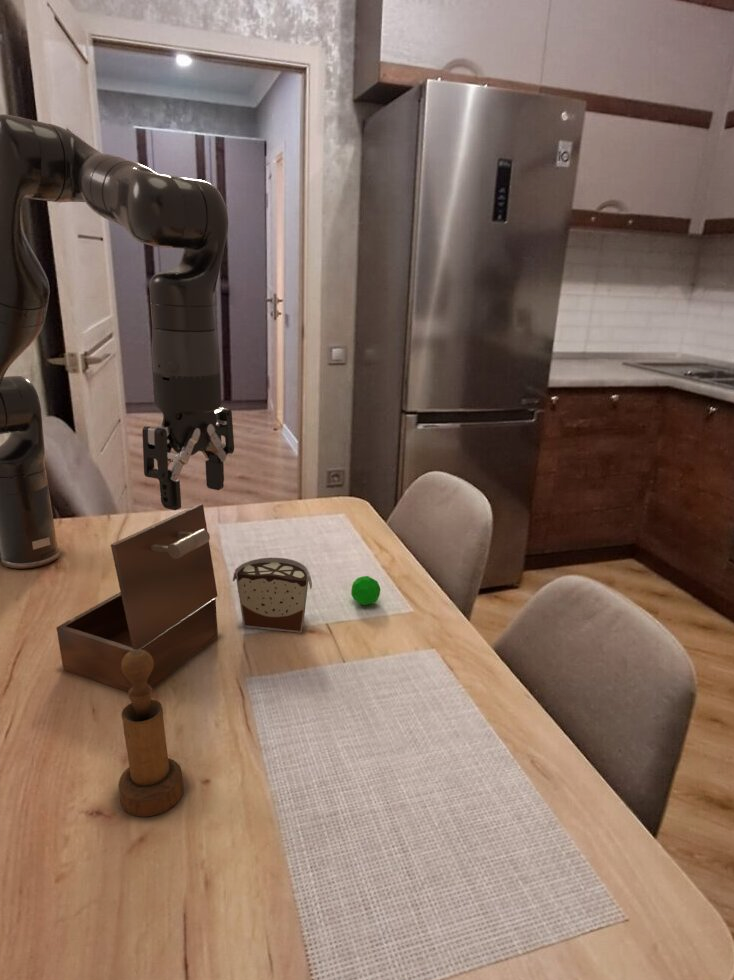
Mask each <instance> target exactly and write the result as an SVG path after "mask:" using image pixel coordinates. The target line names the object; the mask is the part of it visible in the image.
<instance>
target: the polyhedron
mask: <svg viewBox="0 0 734 980" xmlns="http://www.w3.org/2000/svg"><path fill="white" fill-rule="evenodd" d="M350 592H351V593H350V594H351V596H352V599H353V601H355V602H357V603H359V604H360V605H362V606H368V605H372V604H375V603H376V602H377V601H378V599H379V598H380V596H381V586H380V584H379V582H378V581H377V580H376V579H374V578H373V577H370V576H369V575H364V576H360V577H358V578H356V579H355V580H354V581H353V582H352V584H351V590H350Z"/></svg>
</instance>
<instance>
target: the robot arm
mask: <svg viewBox="0 0 734 980" xmlns="http://www.w3.org/2000/svg"><path fill="white" fill-rule="evenodd" d="M25 199H30V200H38V201H45V202H52V203H86V205H87V206H88V208H90V210H92V212H94V213H96V214H97V215H99V216H100V217H101V218H104V219H106V220H108V221H109V222H112V223H115V224H117V225H119V226H122V227H123V228H124V229H125V230H126V231H127V232H128V234H129V235H131V237H132V238H133V239H134V240H136V241H137V242H139V243H142V244H145V245H148V246H152V247H157V248H168V249H183V252H182V254H181V255H182V256H181V258H180V261H179V263H178V265H177V266H176V267H175V268H173V269H170V270H163V271H161V272H157V273H155V274H153V275H152V277H151V278H150V281H149V301H150V302H149V303H150V313H151V314H150V315H151V327H152V328H151V329H152V331H151V359H152V360H151V361H152V372H153V385H154V395H155V396H154V397H155V398H154V399H155V405H156V407H157V408H158V409H159V410H160V411H161V413H162V423H161V425H158V426H153V425H151V426H150V425H145V426H143V428H142V429H141V430H142V434H141V435H142V457H143V474H144V476H145V477H146V478H152V479H156V480H158V483H159V492H160V502H161V505H162V507H163V508H165V509H168V510H172V511H177V510H179V509H181V508H182V497H181V496H182V495H181V482H180V481H181V480H180V479H179V477H180V476H181V475H180V474H181V472H182V470H183V467H184V466H185V465H187V464H188V463H189V461H190V459H191V456H194V455H196V454H197V453H198V452H202V454H203V456H204V457H205V458H206V460H205V461H204V462H205V480H206V481H205V483H206V487H207V488H208V489H211V490H215V491H220V490H222V489H223V488H224V486H225V485H224V484H225V483H224V482H225V470H224V469H225V468H224V467H225V465H224V462H225V461H227V456H228V454H229V455H230V454H231V455H232V454H233V453H234V452H235V439H234V438H235V437H234V425H233V412H232V410H231V409H230V408H224V407H222V381H221V379H222V378H221V356H220V354H221V353H220V345H219V339H218V332H217V313H216V311H217V309H216V289H217V284H218V281H219V280H218V279H219V275H220V270H221V265H222V261H223V256H224V252H225V247H226V242H227V238H228V233H229V214H228V210H227V205H226V203H225V199H224V198H223V196H222V194H221V192H220V191H219V189H218V188H217V187H216V186H215V185H213V184H212V183H210V182H208V181H206V180H202V179H196V178H190V177H189V178H188V177H181V176H176V175H175V176H174V175H169V174H162V173H157V172H155V171H154V170H152V169H151V168H149V167H147V166H146V165H143V164H141V163H139V162H136V161H132V160H129V159H126V158H123V157H121V156H116V155H113V154H110V153H109V154H108V153H104V152H101V151H99V150H97V149H96V148H94V147H93V146H92V145H90V144H88V143H87V142H86V141H85V140H83V139H82V138H81V137H79V136H78V135H76V134H75V133H73V132H71V131H69V130H68V129H66V128H64V127H62V126H59V125H56V124H52V123H47V122H43V121H38V120H34V119H30V118H25V117H22V116H16V115H12V114H1V113H0V435H4V434H9V436H8V438H7V439H6V440H5V441H4V442H3V443H2V444H1V445H0V561H1V563H2V565H3V566H5V567H7V568H11V569H16V570H17V569H19V570H20V569H21V570H23V569H25V570H26V569H33V568H34V569H35V568H39V567H43V566H46V565H49V564H51V563H53V562H55V561H56V560H58V558H59V557H60V549H59V546H58V540H57V533H56V528H55V527H56V526H55V521H54V514H53V509H52V508H53V507H52V501H51V493H50V489H49V488H50V487H49V482H48V477H47V470H46V469H47V468H46V463H45V457H46V447H45V446H46V445H45V438H44V426H43V415H42V405H41V401H40V397H39V395H38V392H37V389H36V387H35V385H34V384H33V383H32V381H30V380H29V379H28V378H27V377H25V376H22V375H10V376H5V375H6V373H7V371H8V370H9V369H10V367H11V366H12V365H13V363H14V362H15V361H16V360H18V358H19V357H20V356H21V355H22V354H23V353H24V352H25V351H26V350H27V349H28V348H29V347H30V346H31V345H32V344H33V343H34V341H35V340H36V339H37V338H38V336H39V335H40V333H41V332H42V330H43V327H44V326H45V322H46V318H47V311H48V306H49V300H50V295H51V294H50V293H51V289H50V283H49V279H48V277H47V273H46V271H45V270H44V268H43V266H42V264H41V262H40V261H39V258H38V257H37V255H36V253H35V252H34V250H33V249H32V247H31V245H30V242H29V241H28V239H27V237H26V234H25V232H24V229H23V225H22V215H21V214H22V206H23V202H24V200H25ZM222 437H224V441H225V442H222V441H223V440H222ZM172 450H173V451H174V452H175V453H173V452H172ZM155 460H156V462H157V463H156V464H157V465H156V466H157V467H156V466H155ZM171 463H172V466H171V468H170V469H169V465H170V464H171Z"/></svg>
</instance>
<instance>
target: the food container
mask: <svg viewBox="0 0 734 980" xmlns="http://www.w3.org/2000/svg"><path fill="white" fill-rule="evenodd" d="M235 580H236V586H237V593H238V599H239V605H240V606H239V607H240V612H241V618H242V624H243V628H250V629H260V630H268V631H269V630H270V631H280V632H289V633H290V632H291V633H299V634H302V633H303V629H304V622H305V614H306V605H307V597H308V589H312V588H313V581H312V576H311V574H310V572H309V568H308V567H307V566H306V565H304V564H303V563H301V562H299V561H297V560H294V559H290V558H285V557H261V558H256V559H251V560H249V561H246V562H243V563H241V564H240V565H239V566H237V567H236V568H235V570H234V572H233V576H232V582H235ZM308 587H309V588H308Z"/></svg>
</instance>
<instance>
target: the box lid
mask: <svg viewBox="0 0 734 980" xmlns="http://www.w3.org/2000/svg"><path fill="white" fill-rule="evenodd" d="M210 535H211V534H210V533H209V532H208V526H207V520H206V515H205V509H204V504H203V503H198V504H195V505H193V506H191V507H189V508H187V509H185V510H182V511H180V512H177V513H176V514H173V515H172V516H169V517H167V518H165V519H163V520H161V521H159V522H156V523H155V524H152V525H150V526H147V527H145V528H143V529H141V530H139V531H137V532H135V533H133V534H130V535H128V536H125V537H124V538H122V539H120V540H117V541H116V542H113V543H111V544H110V549H111V554H112V559H113V563H114V567H115V572H116V578H117V582H118V587H119V590H120V592H121V596H122V601H123V605H124V610H125V615H126V619H127V624H128V629H129V633H130V638H131V643H132V647H133V649H135V650H138V649H140V648H141V647H143V646H144V645H146V644H147V643H149V642H150V641H152V640H153V639H155V638H156V637H158V636H159V635H161V634H162V633H164V632H165V631H167V630H168V629H170V628H171V627H172V626H174V625H175V624H177V623H178V622H180V621H181V620H183V619H184V618H186V617H187V616H189V615H190V614H192V613H193V612H195V611H196V610H198V609H199V608H201V607H202V606H204V605H205V604H207V603H208V602H210V601H211V600H213V599H214V598H215V599H216V598H217V597H218V590H217V583H216V576H215V571H214V565H213V557H212V552H211V545H210V539H211V536H210Z"/></svg>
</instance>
